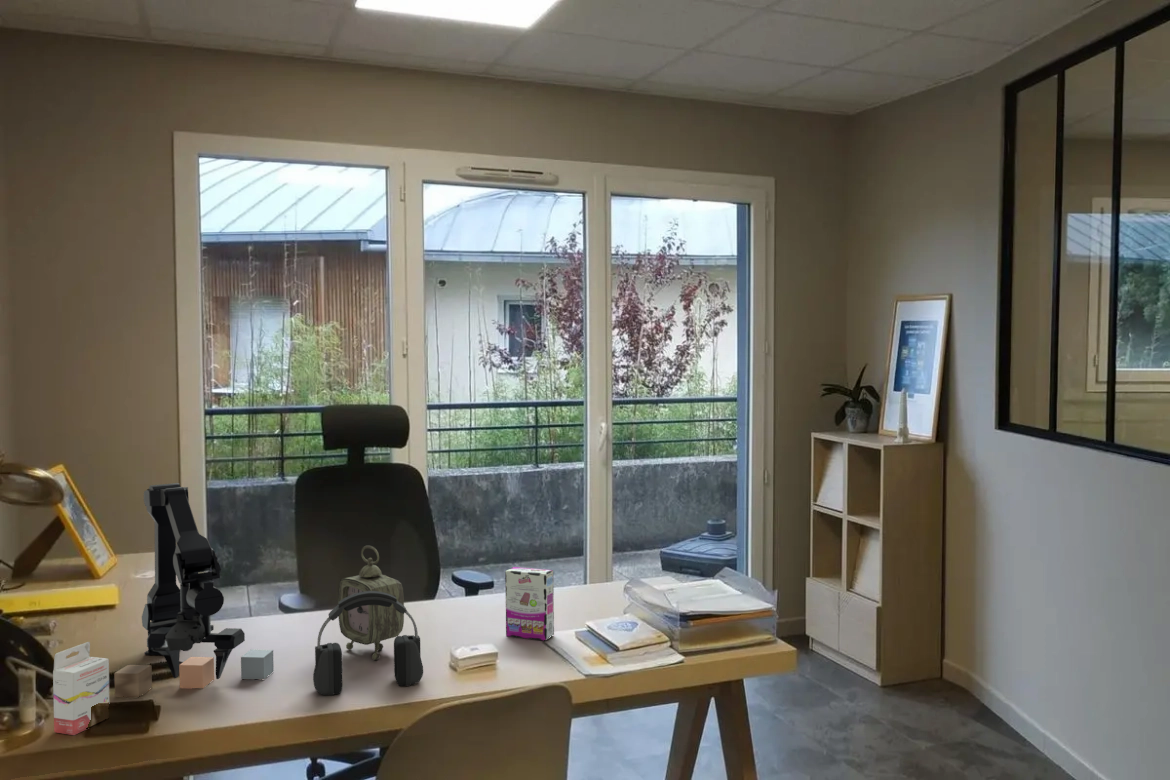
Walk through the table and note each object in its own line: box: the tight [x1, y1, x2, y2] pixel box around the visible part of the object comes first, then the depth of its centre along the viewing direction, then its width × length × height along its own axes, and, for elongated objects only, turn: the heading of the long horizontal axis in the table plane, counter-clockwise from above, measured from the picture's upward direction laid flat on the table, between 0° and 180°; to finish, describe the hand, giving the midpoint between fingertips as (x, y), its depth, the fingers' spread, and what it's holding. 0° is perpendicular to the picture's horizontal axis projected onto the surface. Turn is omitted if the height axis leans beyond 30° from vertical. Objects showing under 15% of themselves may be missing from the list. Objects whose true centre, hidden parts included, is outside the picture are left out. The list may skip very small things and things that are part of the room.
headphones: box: [312, 591, 424, 696], centre depth 191 cm, size 22×6×20 cm, turn 109°
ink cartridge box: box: [52, 641, 110, 736], centre depth 172 cm, size 9×5×15 cm, turn 163°
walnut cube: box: [114, 664, 153, 698], centre depth 188 cm, size 5×5×5 cm
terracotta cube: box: [178, 656, 215, 689], centre depth 193 cm, size 5×5×5 cm
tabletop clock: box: [337, 545, 405, 661], centre depth 212 cm, size 14×9×25 cm, turn 47°
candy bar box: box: [504, 566, 555, 642], centre depth 224 cm, size 11×5×16 cm, turn 68°
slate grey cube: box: [240, 648, 275, 680], centre depth 198 cm, size 5×5×5 cm
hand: (197, 678), depth 193 cm, fingers open, 9 cm apart
